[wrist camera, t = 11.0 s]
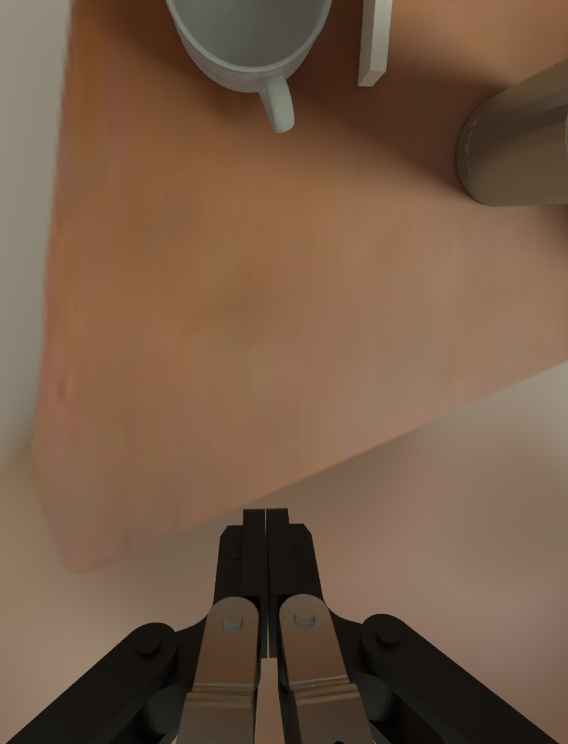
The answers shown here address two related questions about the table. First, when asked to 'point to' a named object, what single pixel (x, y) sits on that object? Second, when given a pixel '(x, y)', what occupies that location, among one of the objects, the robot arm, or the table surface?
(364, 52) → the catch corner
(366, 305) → the table surface
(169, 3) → the teacup
